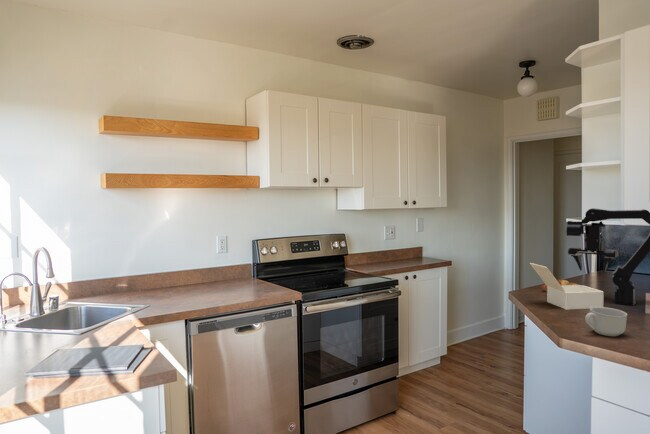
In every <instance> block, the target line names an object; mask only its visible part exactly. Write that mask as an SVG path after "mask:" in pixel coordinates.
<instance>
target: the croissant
mask: <svg viewBox="0 0 650 434" xmlns="http://www.w3.org/2000/svg"><path fill="white" fill-rule="evenodd" d="M557 281H558V282H559V284H560V285H561V286H567V285H579V284H578V283H575V282H569V280H566V279H558V280H557ZM540 287H541V289H542V290H544V291H545V292H547V285H546V284H545V283H544V284H542V285H541V286H540Z"/></svg>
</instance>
